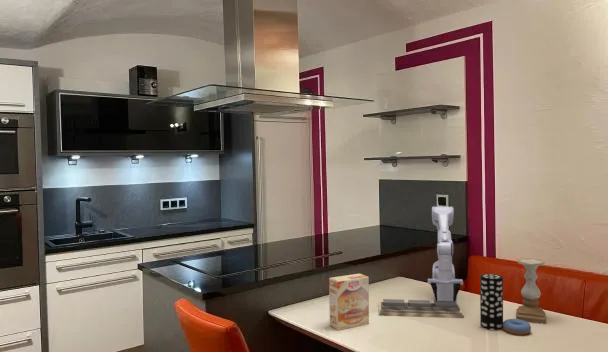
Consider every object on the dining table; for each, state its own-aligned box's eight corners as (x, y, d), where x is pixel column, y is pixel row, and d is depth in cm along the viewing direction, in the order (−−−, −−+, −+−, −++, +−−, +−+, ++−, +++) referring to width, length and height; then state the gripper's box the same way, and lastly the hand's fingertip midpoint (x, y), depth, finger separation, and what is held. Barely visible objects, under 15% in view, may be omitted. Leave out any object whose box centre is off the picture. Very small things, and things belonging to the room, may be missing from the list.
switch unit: (457, 306, 214) (457, 301, 214) (464, 318, 200) (464, 311, 200) (378, 304, 219) (378, 299, 219) (379, 315, 205) (379, 309, 205)
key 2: (455, 304, 210) (455, 300, 210) (457, 307, 205) (457, 304, 205) (433, 303, 211) (433, 300, 211) (435, 307, 206) (435, 303, 206)
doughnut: (529, 337, 177) (528, 324, 177) (500, 334, 182) (500, 321, 182) (532, 331, 185) (532, 319, 186) (505, 328, 190) (504, 316, 191)
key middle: (429, 303, 211) (429, 300, 211) (430, 307, 206) (430, 303, 206) (408, 303, 213) (408, 299, 212) (409, 306, 208) (409, 303, 208)
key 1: (403, 302, 213) (403, 299, 213) (404, 306, 208) (404, 303, 208) (383, 302, 214) (383, 299, 214) (383, 305, 209) (383, 302, 209)
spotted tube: (502, 324, 192) (502, 274, 191) (503, 331, 184) (503, 279, 183) (480, 322, 194) (480, 273, 194) (480, 329, 187) (480, 278, 186)
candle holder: (545, 315, 201) (545, 259, 200) (546, 324, 191) (546, 264, 190) (516, 312, 206) (516, 257, 205) (515, 320, 196) (516, 262, 195)
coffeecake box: (338, 330, 187) (337, 281, 187) (329, 325, 194) (328, 277, 193) (369, 324, 194) (369, 276, 193) (359, 319, 201) (359, 272, 200)
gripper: (429, 271, 204) (429, 302, 205) (464, 272, 202) (464, 303, 203) (427, 267, 211) (427, 298, 212) (461, 268, 209) (461, 298, 210)
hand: (445, 300), depth 208 cm, fingers open, 7 cm apart
